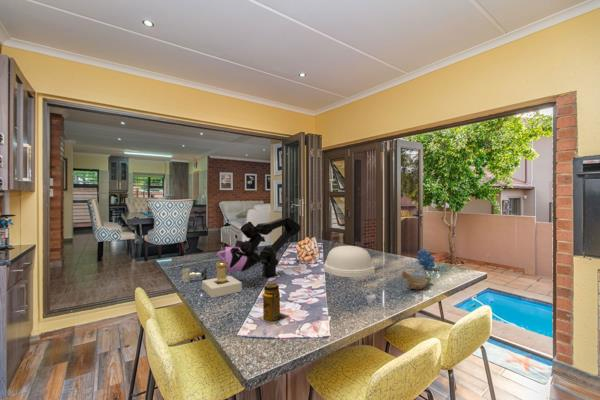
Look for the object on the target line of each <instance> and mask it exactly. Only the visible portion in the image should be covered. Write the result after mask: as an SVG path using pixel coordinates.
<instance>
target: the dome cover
mask: <svg viewBox="0 0 600 400" xmlns="http://www.w3.org/2000/svg"><path fill="white" fill-rule="evenodd" d="M323 271H324V272H325V273H326V274H329V275H332V276H337V277H342V278H343V277H344V278H363V277H365V278H366V277H368V276H372V275H375V274H376V267H375V265H374V264H373V262H372V258H371V255H370V253H369V252H368V251H367V250H366V249H365V248H362V247H360V246H354V245H339V246H336V247H333V248H331V249H330V250H329V252H328V254H327V257H326V260H325V261H324V264H323Z"/></svg>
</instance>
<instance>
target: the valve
mask: <svg viewBox="0 0 600 400" xmlns="http://www.w3.org/2000/svg"><path fill="white" fill-rule="evenodd" d="M207 271H208V268H207V267H204V270H203V271H201V272H194V271H192V272H191V268H187V267H185V268H182V271H181V272H182V275H181V277H182V283H183V284H185V283H191V278H192V279H194V278H195V277H202V279H204V280H208V275H207V273H208V272H207Z"/></svg>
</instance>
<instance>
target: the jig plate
mask: <svg viewBox="0 0 600 400" xmlns="http://www.w3.org/2000/svg"><path fill="white" fill-rule="evenodd" d="M242 284H243V283H242V281H240V280H238V279H236V278H235V277H233V276H231V275H227V283H223V284H217V277H215V278H210V279H207V280H201V289H202V291H204V292H205V294H207V295H208V296H209V297H210V298H211V299H212V298H218V297H222V296H223V297H224V296H226V295H231V294H235V293H241V292H242V291H243V285H242Z"/></svg>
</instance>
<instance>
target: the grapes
mask: <svg viewBox="0 0 600 400" xmlns="http://www.w3.org/2000/svg"><path fill="white" fill-rule="evenodd" d="M416 259H417V260H418V265H420V266H422V269H424V270H429V271H431V270H432V269H433V267H434V268H435V265H436V264H435V262H434V261H435V257H434V256H432V253H431V252H430V251H427V250H426V249H425V248H424V249H423V248H422V250H418V251H417V256H416Z"/></svg>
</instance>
